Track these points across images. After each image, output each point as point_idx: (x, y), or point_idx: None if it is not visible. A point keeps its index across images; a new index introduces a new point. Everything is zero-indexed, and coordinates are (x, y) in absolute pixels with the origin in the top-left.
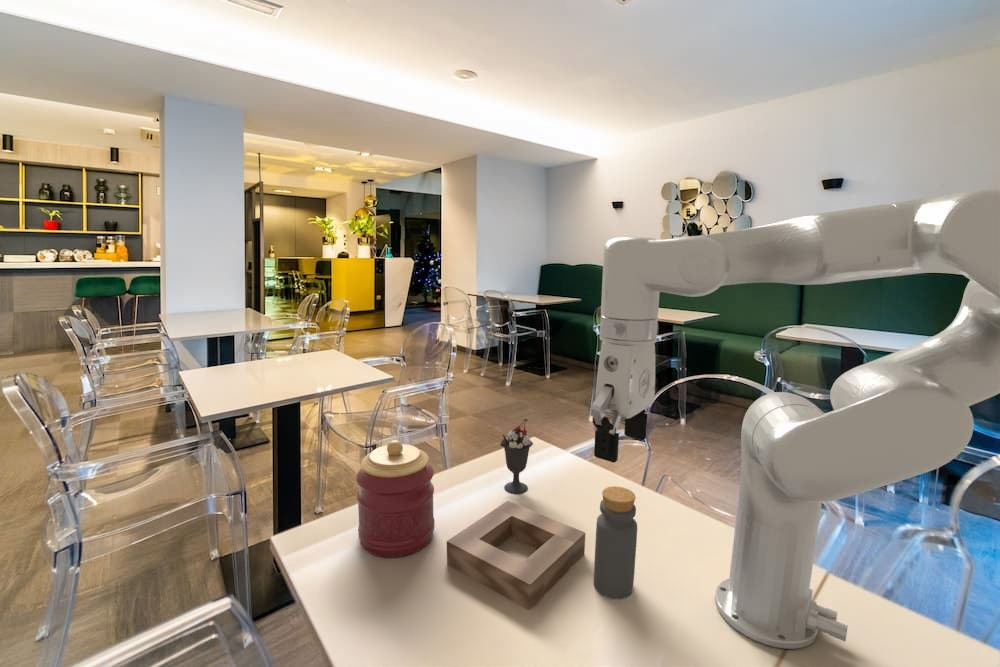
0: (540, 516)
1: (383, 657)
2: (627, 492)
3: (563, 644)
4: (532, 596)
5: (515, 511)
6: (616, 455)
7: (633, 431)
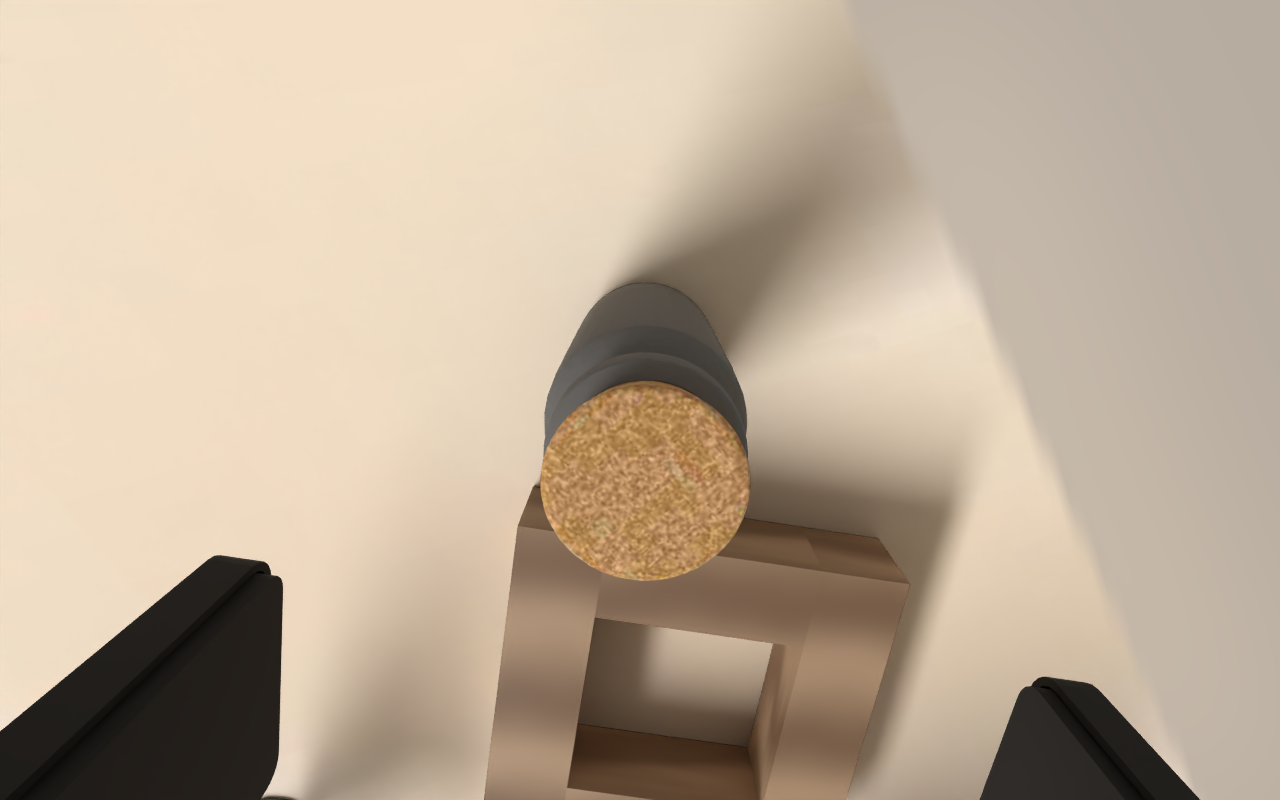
0: (510, 703)
1: (1174, 759)
2: (598, 446)
3: (965, 405)
4: (876, 554)
5: (531, 788)
6: (1132, 731)
7: (238, 738)
